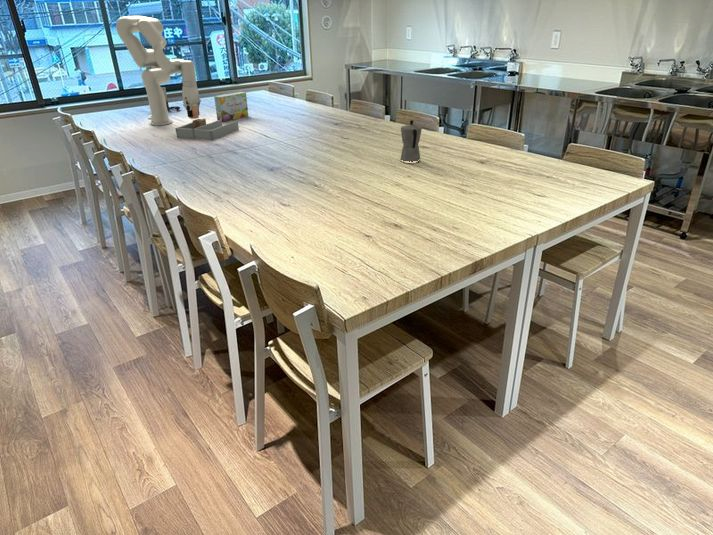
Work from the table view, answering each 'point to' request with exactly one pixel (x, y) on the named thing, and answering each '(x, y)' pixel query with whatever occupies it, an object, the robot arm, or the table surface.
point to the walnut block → (198, 123)
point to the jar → (194, 111)
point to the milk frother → (167, 101)
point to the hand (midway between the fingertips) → (193, 115)
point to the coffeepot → (410, 142)
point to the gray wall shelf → (206, 130)
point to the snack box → (231, 106)
